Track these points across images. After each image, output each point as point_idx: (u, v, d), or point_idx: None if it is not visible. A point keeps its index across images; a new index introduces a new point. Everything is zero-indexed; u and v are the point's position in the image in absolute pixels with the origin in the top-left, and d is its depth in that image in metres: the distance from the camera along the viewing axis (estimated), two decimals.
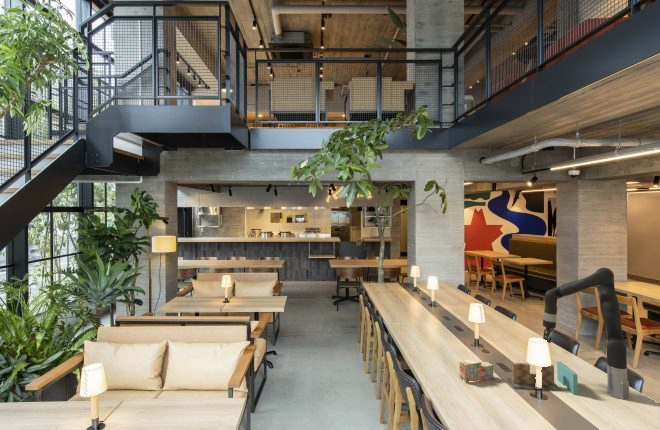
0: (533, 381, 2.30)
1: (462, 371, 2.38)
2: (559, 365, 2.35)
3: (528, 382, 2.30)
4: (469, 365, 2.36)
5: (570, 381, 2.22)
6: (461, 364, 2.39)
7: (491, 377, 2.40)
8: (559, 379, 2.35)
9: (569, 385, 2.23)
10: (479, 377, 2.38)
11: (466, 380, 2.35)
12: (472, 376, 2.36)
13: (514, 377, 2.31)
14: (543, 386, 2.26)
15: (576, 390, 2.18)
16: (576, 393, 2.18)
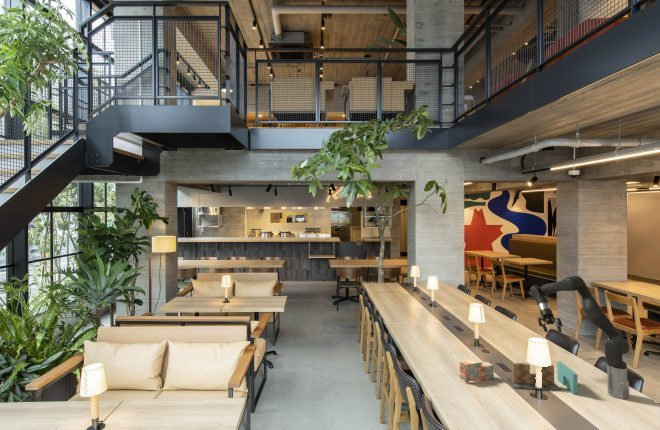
0: (533, 381, 2.30)
1: (462, 371, 2.38)
2: (559, 365, 2.35)
3: (528, 382, 2.30)
4: (469, 365, 2.36)
5: (570, 381, 2.22)
6: (461, 364, 2.39)
7: (491, 377, 2.40)
8: (559, 379, 2.35)
9: (569, 385, 2.23)
10: (479, 377, 2.38)
11: (466, 380, 2.35)
12: (472, 376, 2.36)
13: (514, 377, 2.31)
14: (543, 386, 2.26)
15: (576, 390, 2.18)
16: (576, 393, 2.18)
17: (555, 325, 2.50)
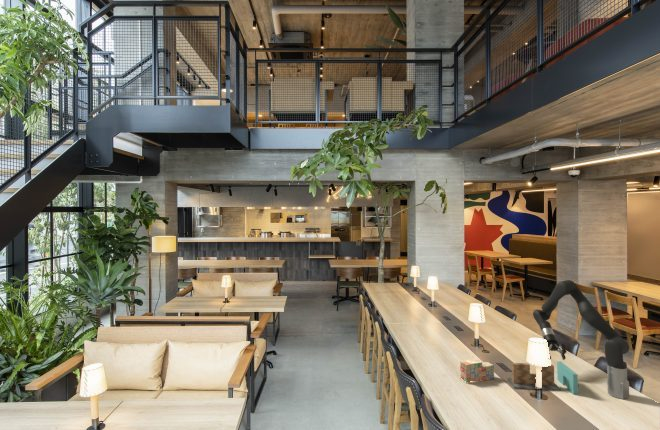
0: (533, 381, 2.30)
1: (462, 371, 2.38)
2: (559, 365, 2.35)
3: (528, 382, 2.30)
4: (470, 365, 2.35)
5: (570, 381, 2.22)
6: (462, 364, 2.39)
7: (492, 377, 2.40)
8: (559, 379, 2.35)
9: (569, 385, 2.23)
10: (480, 378, 2.37)
11: (467, 380, 2.35)
12: (473, 377, 2.36)
13: (514, 377, 2.31)
14: (543, 386, 2.26)
15: (576, 390, 2.18)
16: (576, 393, 2.18)
17: (559, 352, 2.44)
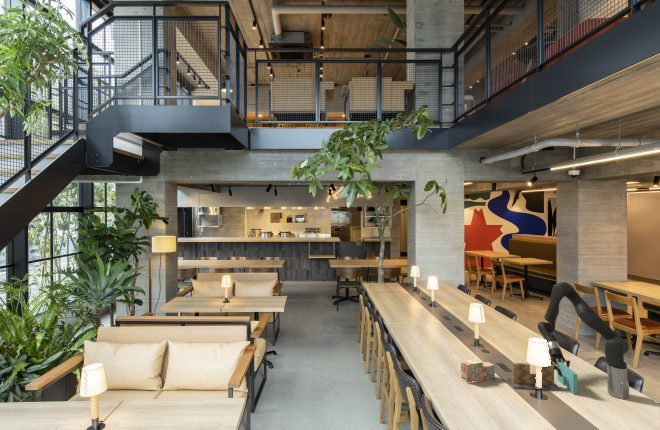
0: (533, 381, 2.30)
1: (463, 371, 2.38)
2: (559, 365, 2.35)
3: (528, 382, 2.30)
4: (471, 365, 2.35)
5: (570, 381, 2.22)
6: (463, 364, 2.38)
7: (492, 377, 2.40)
8: (559, 379, 2.35)
9: (569, 385, 2.23)
10: (480, 378, 2.37)
11: (468, 380, 2.35)
12: (474, 377, 2.36)
13: (514, 377, 2.31)
14: (543, 386, 2.26)
15: (576, 390, 2.18)
16: (576, 393, 2.18)
17: None
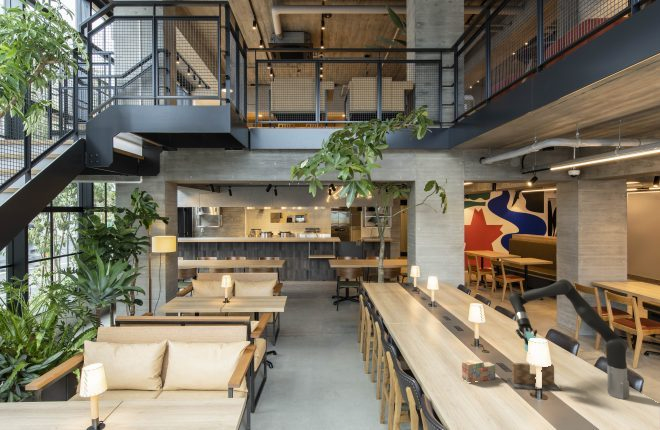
0: (533, 381, 2.30)
1: (464, 371, 2.38)
2: (526, 334, 2.38)
3: (528, 382, 2.30)
4: (472, 365, 2.35)
5: None
6: (464, 364, 2.38)
7: (493, 377, 2.40)
8: (526, 348, 2.39)
9: None
10: (481, 378, 2.37)
11: (469, 380, 2.34)
12: (475, 377, 2.36)
13: (514, 377, 2.31)
14: (543, 386, 2.26)
15: None
16: None
17: None
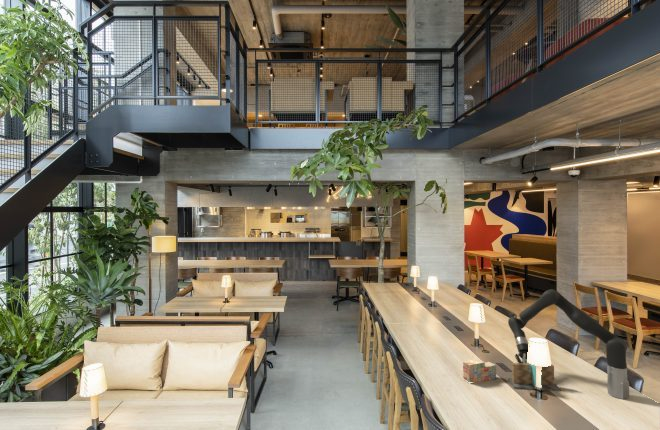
0: None
1: (465, 371, 2.37)
2: (526, 362, 2.38)
3: (528, 382, 2.30)
4: (473, 365, 2.35)
5: (535, 377, 2.25)
6: (465, 364, 2.38)
7: (494, 377, 2.40)
8: None
9: (534, 381, 2.26)
10: (482, 378, 2.37)
11: (470, 380, 2.34)
12: (476, 377, 2.35)
13: (514, 377, 2.31)
14: (543, 386, 2.26)
15: None
16: None
17: None
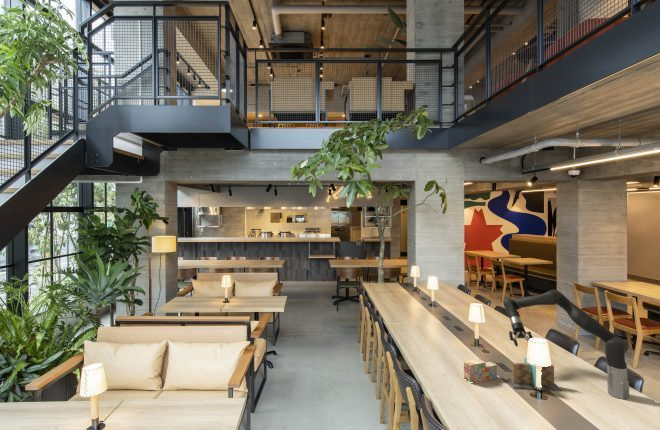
0: None
1: (466, 371, 2.37)
2: (526, 362, 2.38)
3: (528, 382, 2.30)
4: (474, 365, 2.35)
5: (535, 377, 2.25)
6: (466, 365, 2.38)
7: (495, 377, 2.40)
8: None
9: (534, 381, 2.26)
10: (483, 378, 2.37)
11: (471, 381, 2.34)
12: (477, 377, 2.35)
13: (514, 377, 2.31)
14: (543, 386, 2.26)
15: None
16: None
17: (526, 339, 2.51)
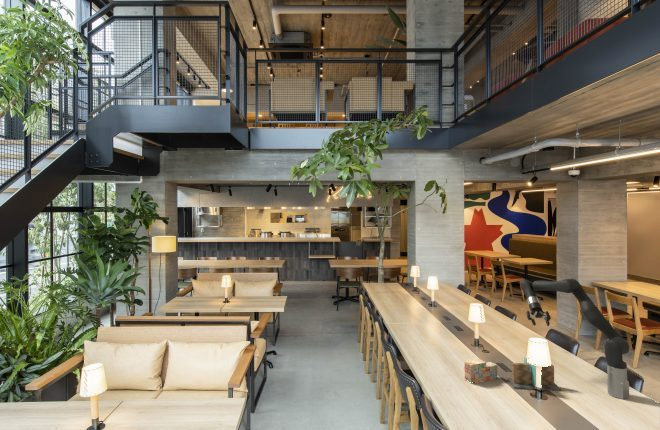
0: None
1: (467, 371, 2.37)
2: (526, 362, 2.38)
3: (528, 382, 2.30)
4: (474, 365, 2.35)
5: (535, 377, 2.25)
6: (466, 365, 2.38)
7: (495, 377, 2.40)
8: None
9: (534, 381, 2.26)
10: (484, 378, 2.37)
11: (471, 381, 2.34)
12: (477, 377, 2.35)
13: (514, 377, 2.31)
14: (543, 386, 2.26)
15: None
16: None
17: (543, 318, 2.52)
